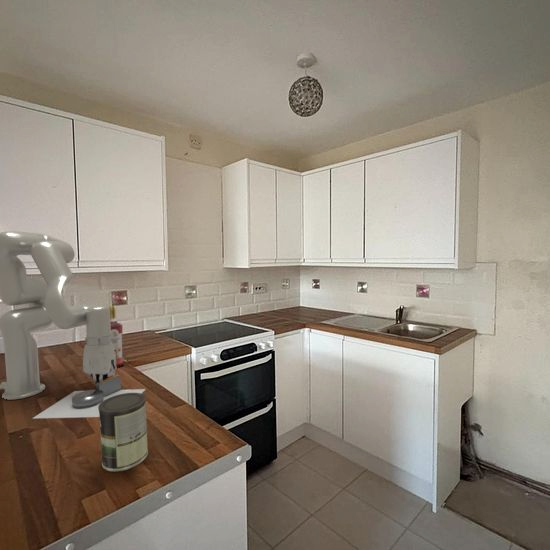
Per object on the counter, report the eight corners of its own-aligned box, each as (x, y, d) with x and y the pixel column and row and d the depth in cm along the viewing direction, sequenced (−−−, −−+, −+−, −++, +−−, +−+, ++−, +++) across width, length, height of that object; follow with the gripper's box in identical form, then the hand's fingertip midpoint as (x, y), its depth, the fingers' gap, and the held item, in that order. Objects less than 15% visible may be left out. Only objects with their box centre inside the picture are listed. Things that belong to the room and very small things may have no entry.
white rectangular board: (32, 423, 95) (32, 417, 95) (74, 395, 115) (74, 390, 115) (118, 421, 95) (117, 415, 95) (145, 393, 115) (145, 388, 115)
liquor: (124, 362, 151) (121, 304, 150) (124, 367, 145) (121, 306, 144) (106, 365, 148) (103, 306, 147) (106, 370, 141) (103, 308, 140)
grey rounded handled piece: (82, 410, 99) (81, 393, 99) (66, 404, 103) (65, 388, 103) (127, 391, 113) (126, 376, 113) (111, 386, 117) (111, 372, 117)
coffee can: (93, 474, 72) (89, 413, 71) (112, 447, 82) (109, 393, 81) (140, 470, 72) (137, 409, 72) (153, 444, 83) (151, 391, 82)
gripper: (72, 342, 110) (74, 394, 111) (110, 344, 107) (112, 397, 108) (88, 337, 117) (90, 385, 118) (124, 338, 114) (126, 388, 115)
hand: (101, 391), depth 113 cm, fingers closed
